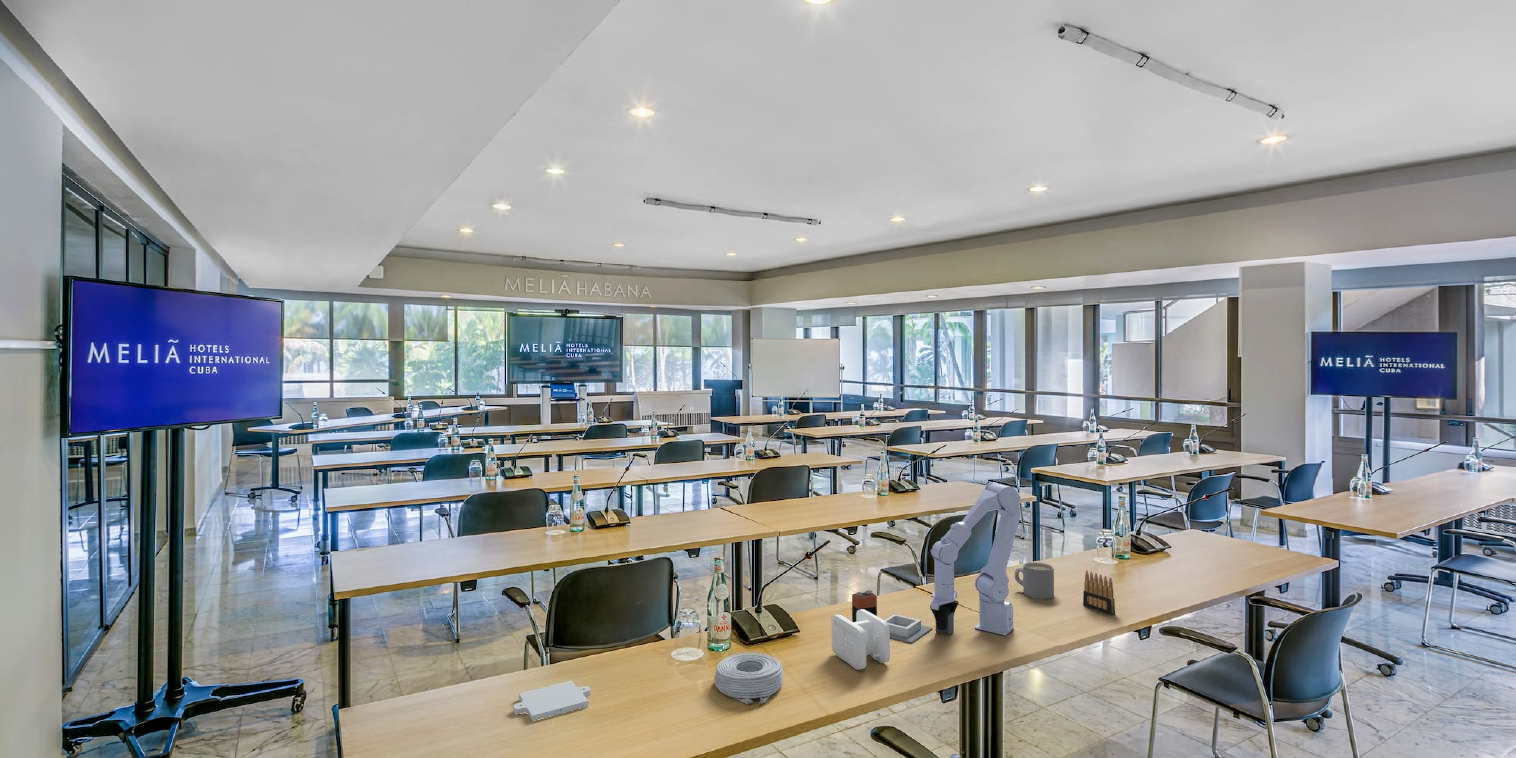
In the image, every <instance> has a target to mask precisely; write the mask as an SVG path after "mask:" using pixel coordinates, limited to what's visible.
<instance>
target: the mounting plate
mask: <svg viewBox="0 0 1516 758" xmlns="http://www.w3.org/2000/svg"><path fill="white" fill-rule="evenodd" d="M591 689H592V688H591V687H590V686H589V685H584V686H577V685H576V683H575V682H574V681H573V680H568V681H563V682H560V683H555V684H551V685H547V686H544V687H539V688H536V689H532V690H528V691H523V692H519V693H518V700H519V699H520V700H519V702H517V703H515V704H514V705H513V713H514V712H515V713H516V714H520V713H523V712H526V713H528V715H529V716H530V718H531V719H530V718H529V719H530V721H531V720H532V721H535V720H538V719H541V718H546V717H549V716H553V715H557V716H559V715H558V714H561V715H563V714H562V713H564V712H569V713H571V712H570V711H572V710H576V709H579V708H583V709H586V708H585V707H587V708H589V700H588V699H587V698H589V697H588V696H590V697H591V696H592V692H591V691H592V690H591ZM586 697H587V698H586ZM520 701H521V702H520ZM576 711H577V710H576ZM572 712H573V711H572ZM528 715H527V716H528ZM529 716H528V717H529ZM546 719H547V718H546ZM532 721H531V722H532ZM535 722H536V721H535Z"/></svg>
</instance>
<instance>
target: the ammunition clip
mask: <svg viewBox="0 0 1516 758" xmlns="http://www.w3.org/2000/svg"><path fill="white" fill-rule="evenodd" d="M1084 574H1085V575H1084V582H1083V583H1084V585H1083V586H1084V590H1083V592H1082V594H1083V595H1082V597H1083V599H1082V601H1083V602H1082V606H1084V607H1086V608H1089V609H1092V610H1094V611H1097V612H1100V613H1102V614H1106V615H1109V616H1115V615H1116V606H1115V605H1116V604H1115V600H1116V599H1115V598H1114V587H1113V586H1114V584H1113V580H1112V577H1111V576H1109V578H1107V575H1104V577H1103V576H1102V574H1100V575H1099V577H1098V573H1097V572H1095V573H1093V571H1090V574H1089V571H1088V570H1085V573H1084Z"/></svg>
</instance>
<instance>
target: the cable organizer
mask: <svg viewBox="0 0 1516 758" xmlns="http://www.w3.org/2000/svg"><path fill="white" fill-rule="evenodd" d="M890 639H891V638H890V629H889V625H888V624H887V622H886V621H885V619H882V618H881V617H879V616H878V615H877V616H875V615H874V614H872V613H870V612H868V611H866V610H864V609H861V610H858V611H857V612H856V621H855V622H852V620H851V619H849V618H847V617H845V616H843V615H841V614H833V615H832V617H831V648H832V651H833V653H834V654H835V655H836V656H837V657H838V658H839V659H840V658H841V659H840V660H842V661H844V662H845V663H847V664H848V665H850V666H851V668H854V669H855V670H858V671H860V670H864V669H866V668H867V656H870V657H872V658H873V661H874V660H875V661H877V662H878V663H880V664H884V663H888V662H889V661H890V659H891V648H890V647H891V646H890V645H891V644H890V642H891V641H890Z"/></svg>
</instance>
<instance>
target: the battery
mask: <svg viewBox="0 0 1516 758" xmlns="http://www.w3.org/2000/svg"><path fill="white" fill-rule="evenodd" d="M877 599H878V597H877V595H876V594H875V593H873V590H869V589H867V590H865V591H864V592H862V591H857V592H856V593H853V594H851V617H852V619H851V621H852V622H855V621H856V612H857V611H858V610H861V609H864V610H866V611H868V612H870V613H872V614H874V615H875V616H877V617H878V604H877V603H878V600H877Z"/></svg>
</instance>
